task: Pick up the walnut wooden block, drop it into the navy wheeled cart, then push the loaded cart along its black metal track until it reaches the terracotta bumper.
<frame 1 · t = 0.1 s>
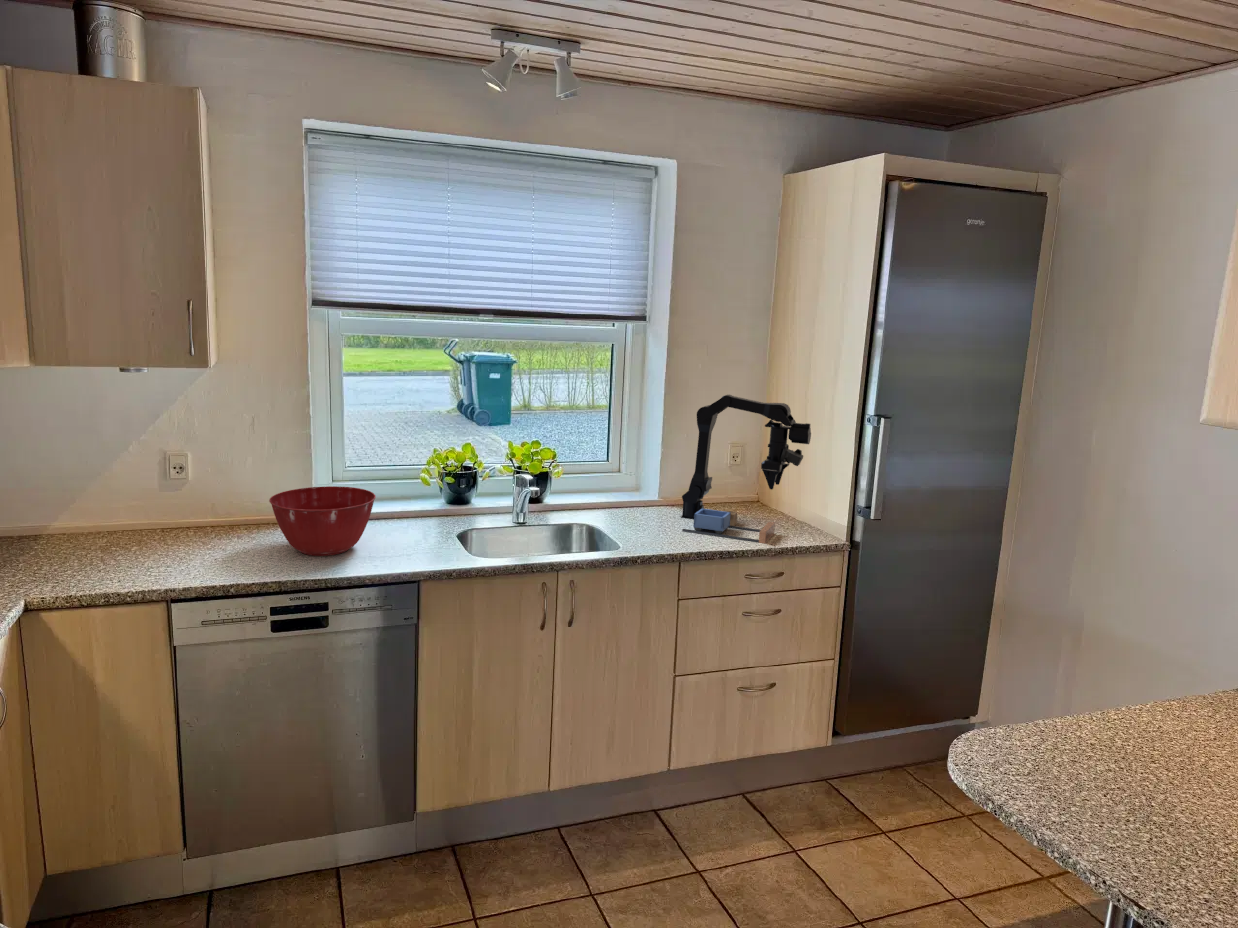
hand: (774, 486, 293), 15 cm above the countertop, fingers open, 9 cm apart
track: (727, 533, 287), on the countertop
block: (728, 525, 298), on the countertop
cart: (712, 521, 288), point 3 cm above the countertop, slide at 0.0 cm
mixing bowl: (324, 549, 248), on the countertop
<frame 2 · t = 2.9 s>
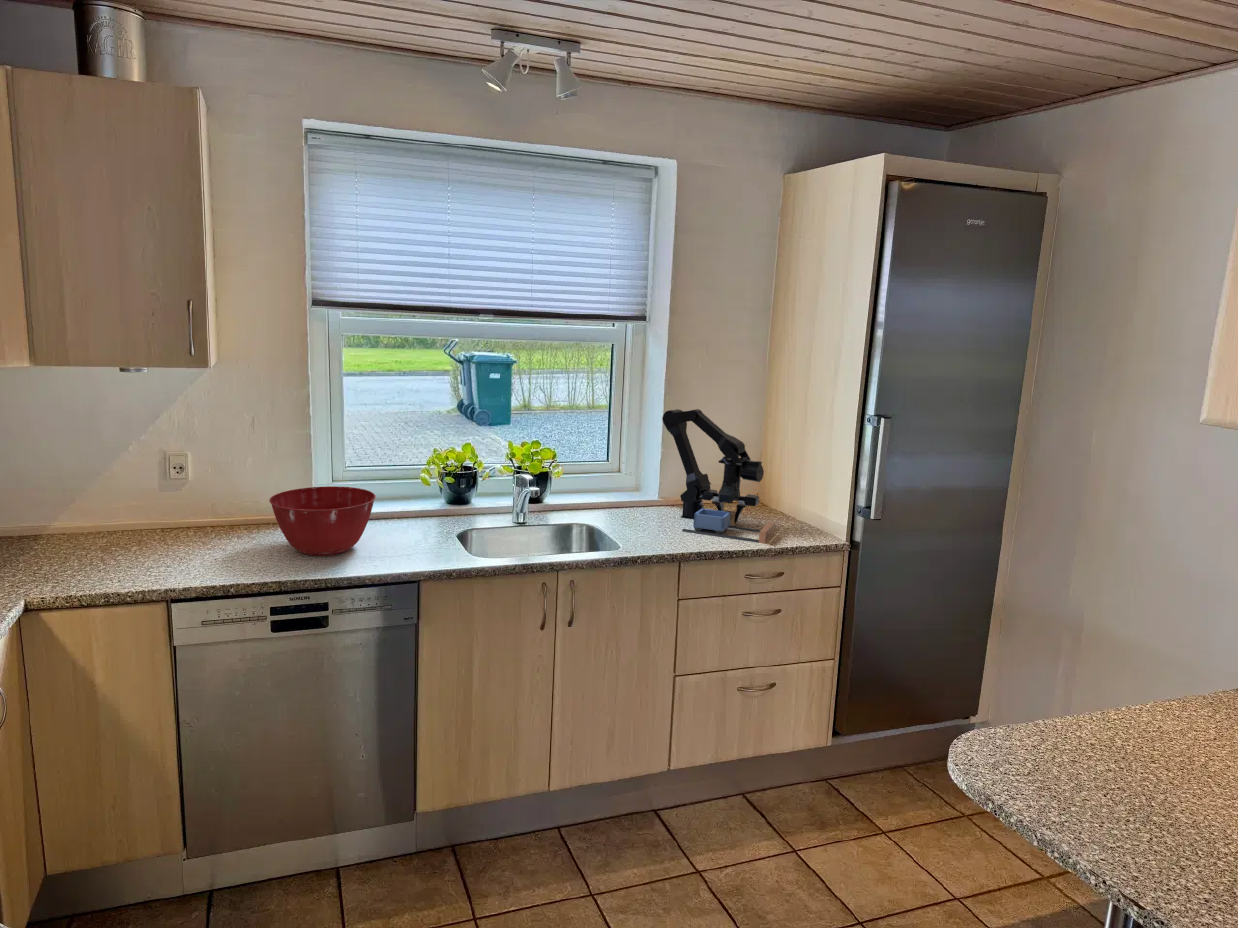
hand: (728, 522, 298), 1 cm above the countertop, fingers closed on block, 4 cm apart
block: (728, 524, 298), on the countertop, touching gripper
everything else where it was.
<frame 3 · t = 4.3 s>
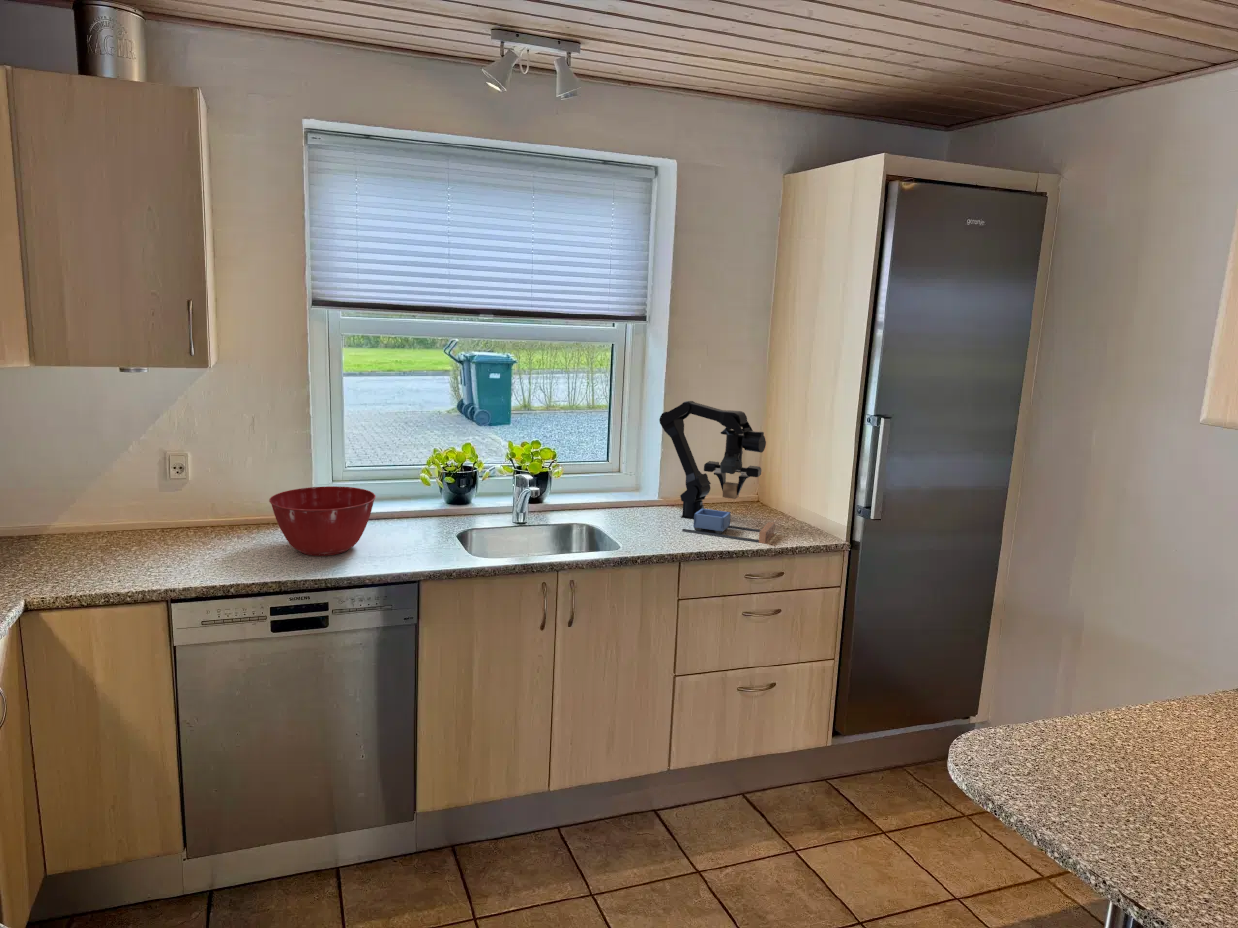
hand: (730, 493, 296), 11 cm above the countertop, fingers closed on block, 4 cm apart
block: (730, 496, 296), point 10 cm above the countertop, touching gripper
everything else where it was.
when the fingers open (6 cm above the countertop, at t = 6.0 s): block drops 3 cm, resting on cart.
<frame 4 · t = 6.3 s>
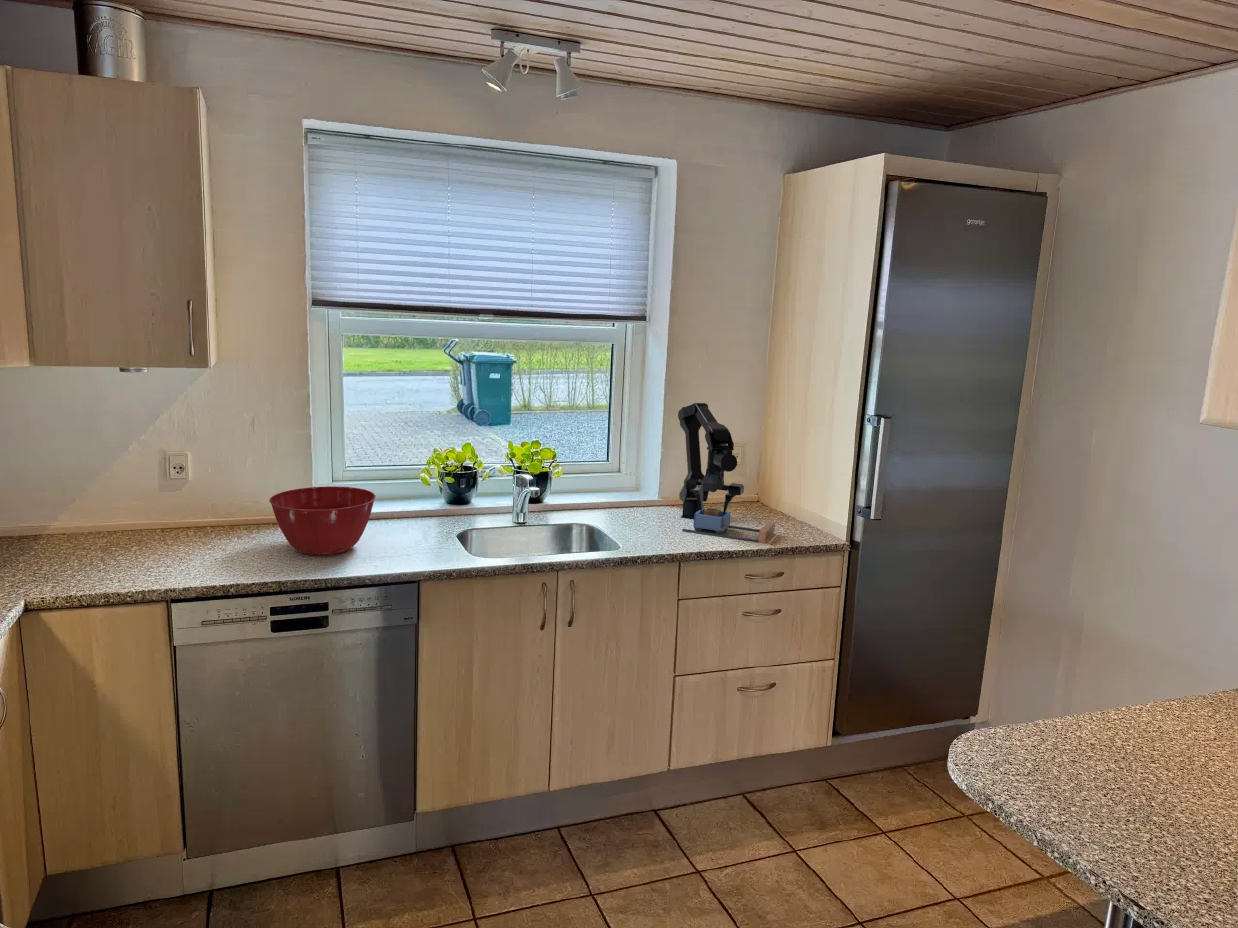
hand: (712, 511, 288), 6 cm above the countertop, fingers open, 8 cm apart
block: (711, 523, 288), point 3 cm above the countertop, touching cart
cart: (712, 521, 288), point 3 cm above the countertop, slide at 0.0 cm, touching block
everything else where it was.
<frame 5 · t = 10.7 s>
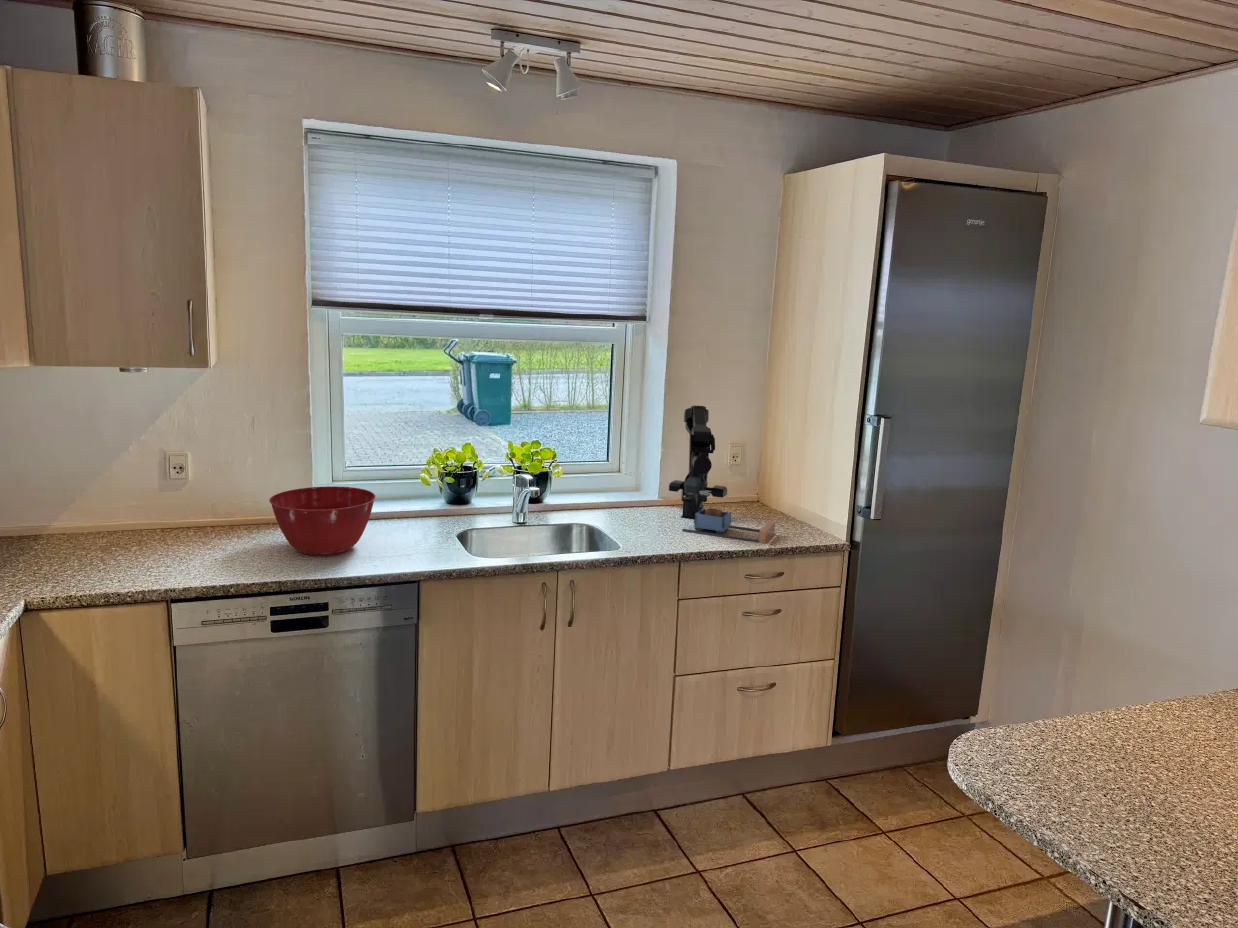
hand: (696, 513, 290), 5 cm above the countertop, fingers closed
cart: (712, 521, 288), point 3 cm above the countertop, slide at 0.3 cm, touching block, gripper
everything else where it was.
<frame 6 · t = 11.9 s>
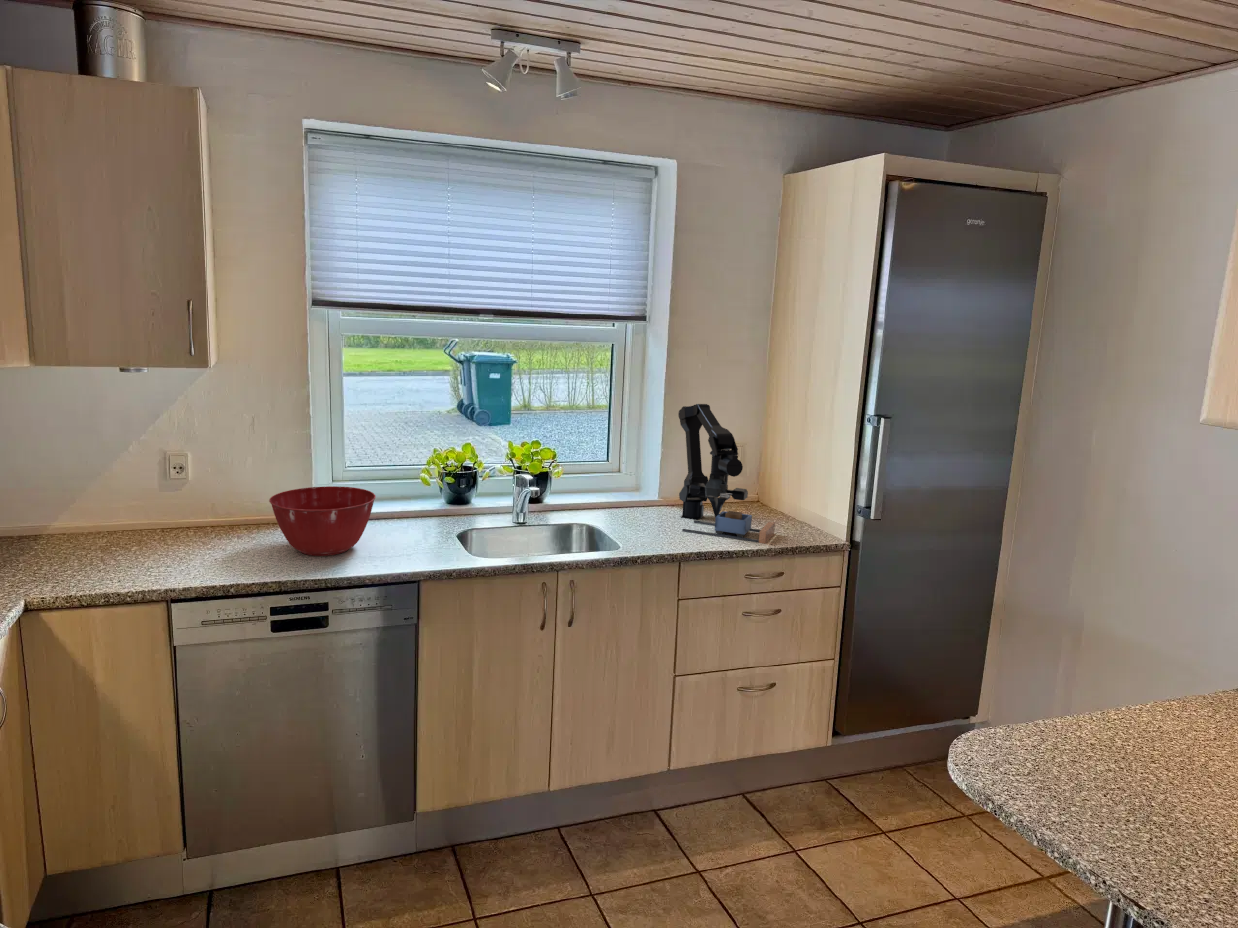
hand: (716, 516, 287), 5 cm above the countertop, fingers closed
block: (732, 526, 286), point 3 cm above the countertop, touching cart
cart: (733, 524, 286), point 3 cm above the countertop, slide at 7.2 cm, touching block, gripper
everything else where it was.
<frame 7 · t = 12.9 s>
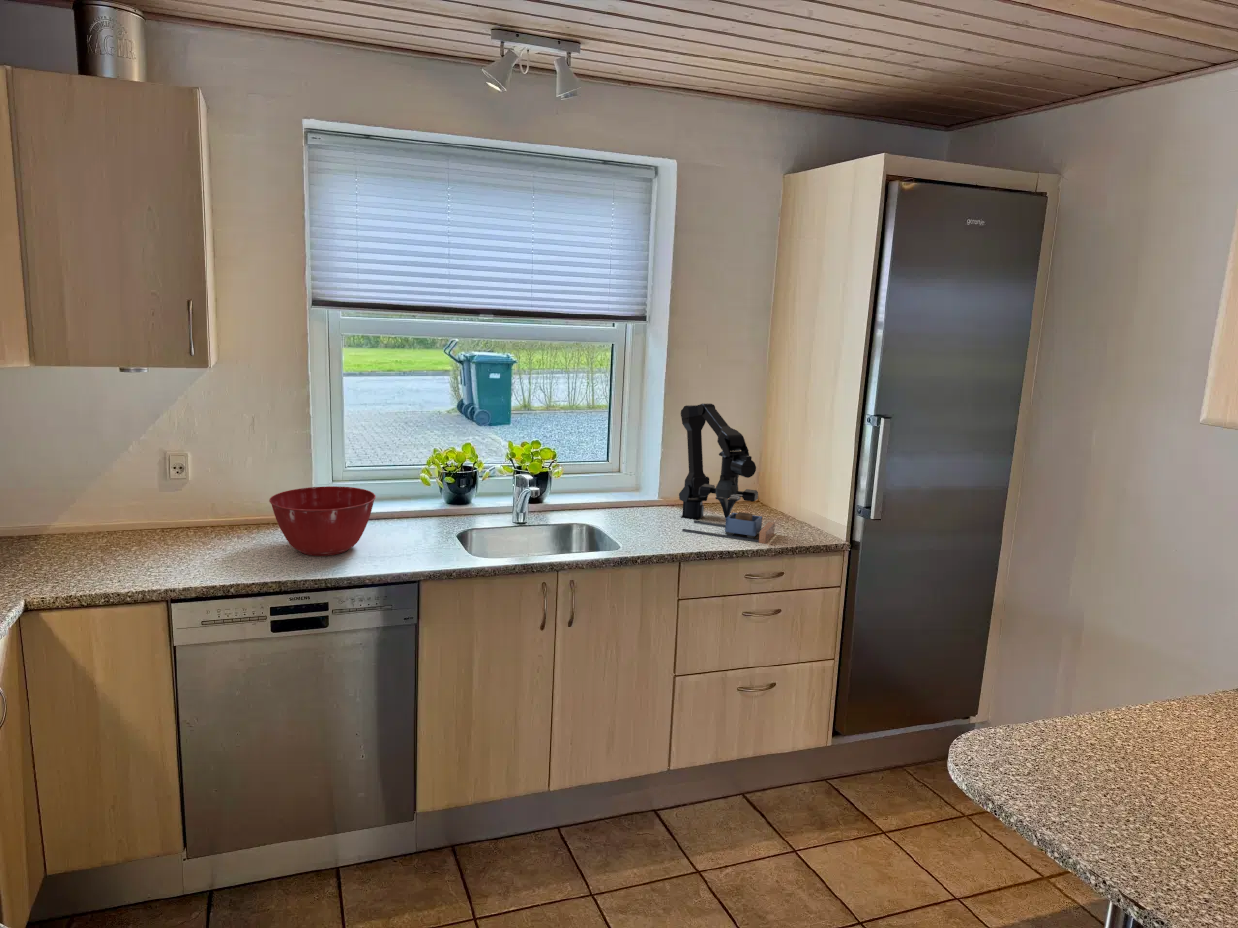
hand: (726, 518, 286), 5 cm above the countertop, fingers closed
block: (743, 527, 285), point 3 cm above the countertop, touching cart
cart: (743, 525, 285), point 3 cm above the countertop, slide at 10.7 cm, touching block, gripper
everything else where it was.
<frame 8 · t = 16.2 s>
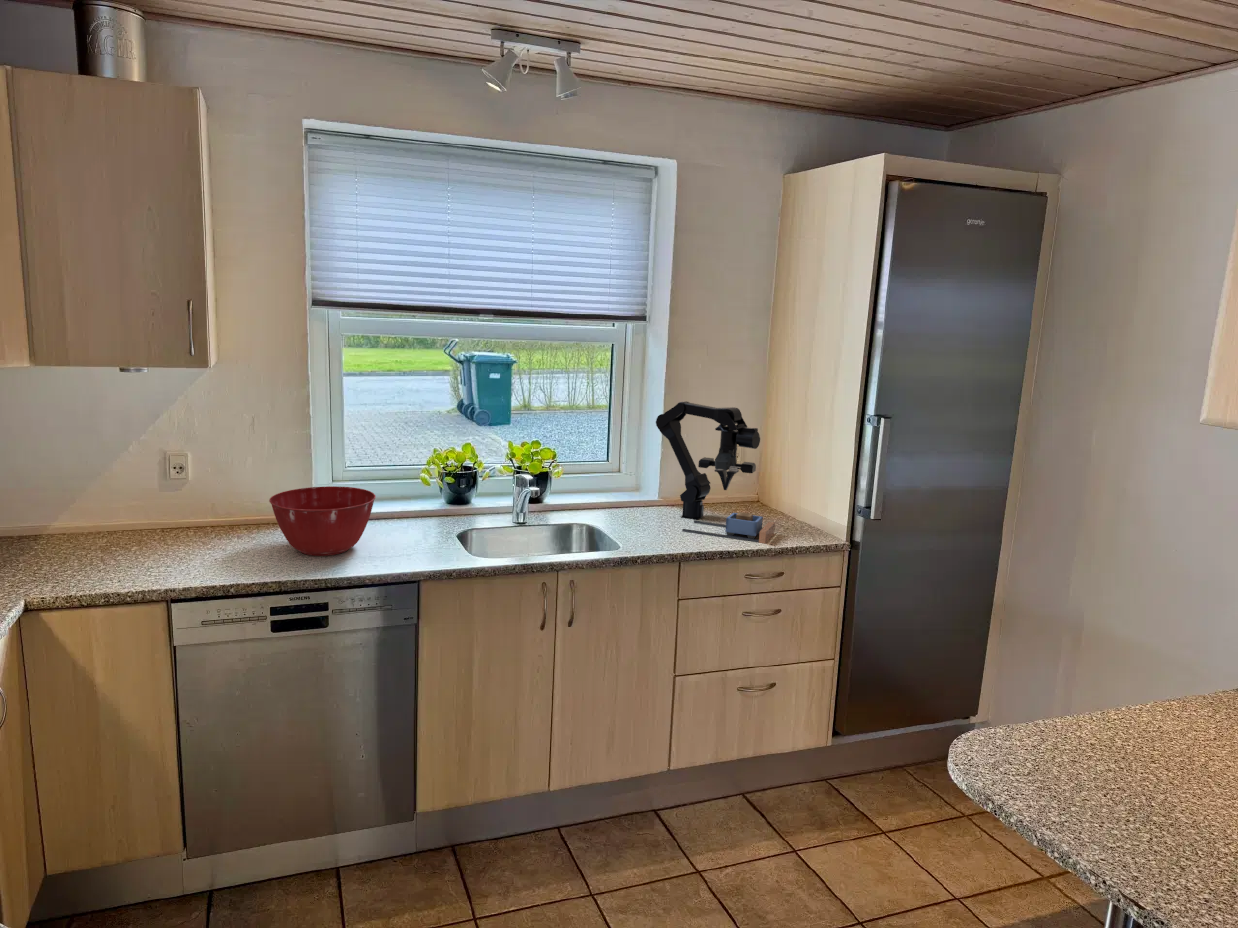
hand: (725, 490, 296), 12 cm above the countertop, fingers closed
cart: (744, 526, 284), point 3 cm above the countertop, slide at 10.8 cm, touching block
everything else where it was.
at the end: cart slide at 10.8 cm; block 0.1 cm from the cart (horizontally); block point 2.6 cm above the countertop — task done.
